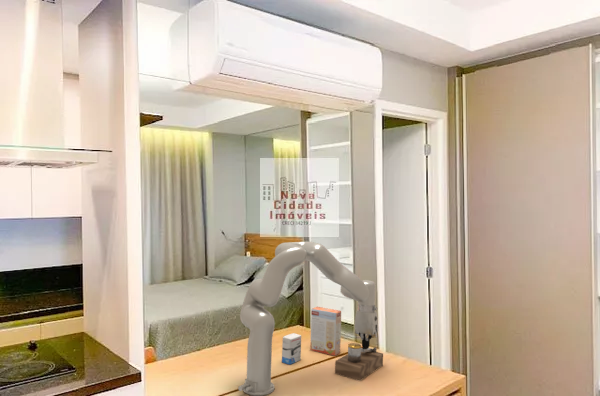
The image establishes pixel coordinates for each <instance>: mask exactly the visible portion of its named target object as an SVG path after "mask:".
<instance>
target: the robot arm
mask: <svg viewBox="0 0 600 396" xmlns="http://www.w3.org/2000/svg"><path fill="white" fill-rule="evenodd" d="M305 261H306V262H310V263H311V264H313V265H314V266H315V267H316V268H317V269H318V270H319V271H320V272H321V274H322V275H323V276H325V278H326V279H328V280H329V281H331V282H333V283H335V284H337V285H339V286H340V292H341V294H342V296H344V297H345V298H347V299H350V300H354V301H356V302H357V309H356V312H355V315H354V316H355V317H354V333H355V334H356V335H358V336H359V337H360V340H361V348H363V349H368V348H370V343H371V342H370V340H371V339H374V338H377V337H378V333H379V319H378V318H379V317H378V313H377V311H378V307H376V283H375V281H373V280H370V279H363V280H362V279H361V278H360V277H359V276H358V275H357V274H356V273H354V272H352V271H351V270H350V269H349V268H347V267H346V266H344V264H342V263H341V262H340V261H339V260H338V259H337V258H336V257H335V256H334V255H333V254H332V253H331V252H330V251H329V250H328V248H327V247H325V246H324V245H323V244H321V243H319V242H314V241H294V242H292V241H289V242H282V243H280V244H278V245H277V246H276V247H275V250H274V257H273V258H272V259H271V260H270V261H269V263H268V265H267V267H266V269H265V272H264V275H263V277H262V278H257V279H254V280H253V281H252V282H251V283H250V285H249V286H248V287H247V290H246V294H245V297H244V300H243V303H242V305H241V307H240V308H241V309H240V312H239V318H240V322H241V324H242V325H243V326H244V327H246V328H248V329H249V335H248V338H247V339H248V340H247V349H246V350H247V353H246V354H247V355H246V356H247V357H246V360H247V361H246V379H244V383H243V384H241V385H239V386H238V388H237V389H238V391H239V392H242V391H243V392H244V394H245V393H246V394H247V395H250V396H266V395H269V394H272V393H273V392H274V391H275V384H274V383H273V382H272V358H273V357H272V352H273V348H272V347H273V346H272V345H273V337H274V335H273V334H274V330H275V318H274V316H273V314H272V313H271V312H270V311H268V309H265V307H268V308H270V307H274V306H275V305H277V303H278V302H279V300H280V296H281V294H282V290H283V286H284V284H285V281H286V279H287V276H288V274H289V273H290V271H292V270H293V269H294V268H296V267H298V266H301V265H302V264H303V263H305Z"/></svg>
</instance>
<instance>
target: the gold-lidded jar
mask: <svg viewBox="0 0 600 396" xmlns="http://www.w3.org/2000/svg"><path fill="white" fill-rule="evenodd" d="M347 344H348V345H347V354H348V361H349V362H353V363H358V362H360V361H361V348H362V344H361V343H355V342H351V343H347Z"/></svg>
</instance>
